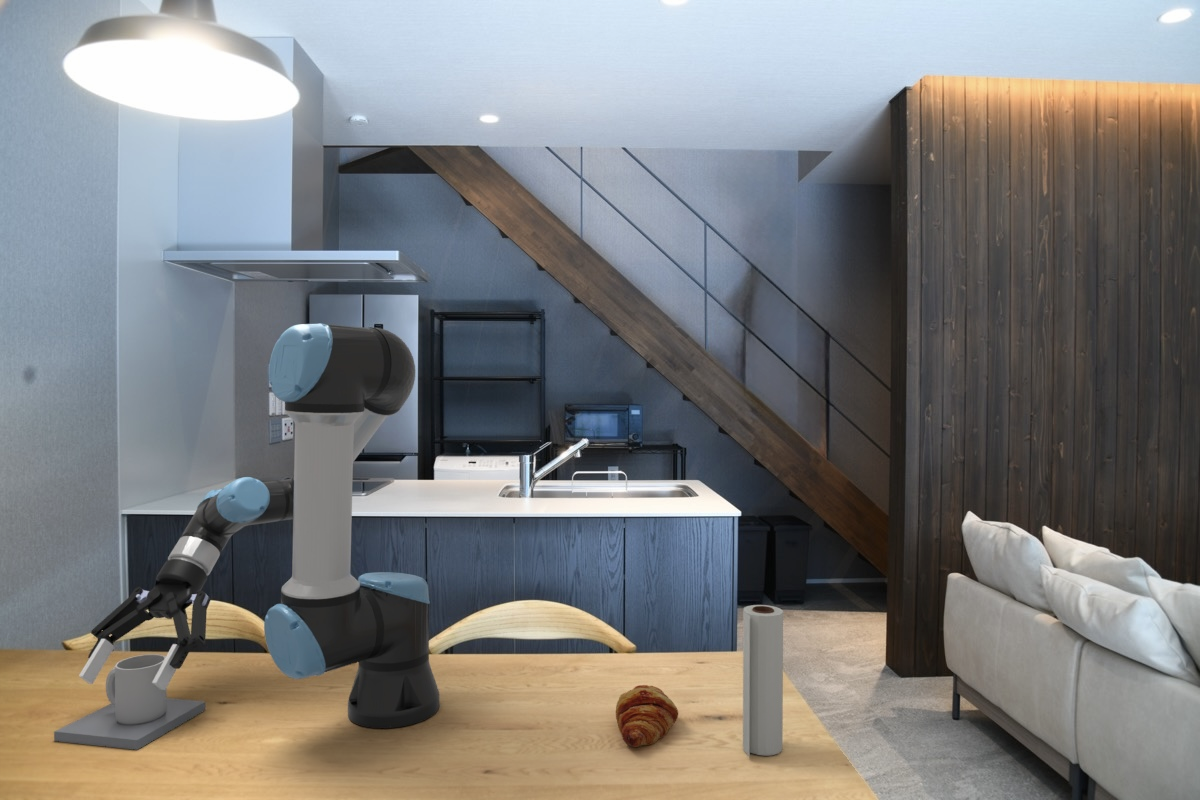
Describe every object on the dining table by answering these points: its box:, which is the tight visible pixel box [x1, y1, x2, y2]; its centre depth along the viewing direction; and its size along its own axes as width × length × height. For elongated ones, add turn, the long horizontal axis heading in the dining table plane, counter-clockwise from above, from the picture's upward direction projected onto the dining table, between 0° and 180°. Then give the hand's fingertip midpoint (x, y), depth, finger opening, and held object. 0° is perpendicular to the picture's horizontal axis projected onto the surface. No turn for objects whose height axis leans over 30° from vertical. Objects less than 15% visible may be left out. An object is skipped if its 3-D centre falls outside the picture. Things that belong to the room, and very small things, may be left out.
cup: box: [105, 653, 168, 725], centre depth 129 cm, size 7×10×9 cm
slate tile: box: [53, 697, 207, 751], centre depth 129 cm, size 15×15×2 cm
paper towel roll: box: [742, 604, 784, 760], centre depth 120 cm, size 7×6×21 cm
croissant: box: [615, 684, 679, 748], centre depth 128 cm, size 21×10×8 cm, turn 168°
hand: (121, 683), depth 126 cm, fingers open, 13 cm apart
